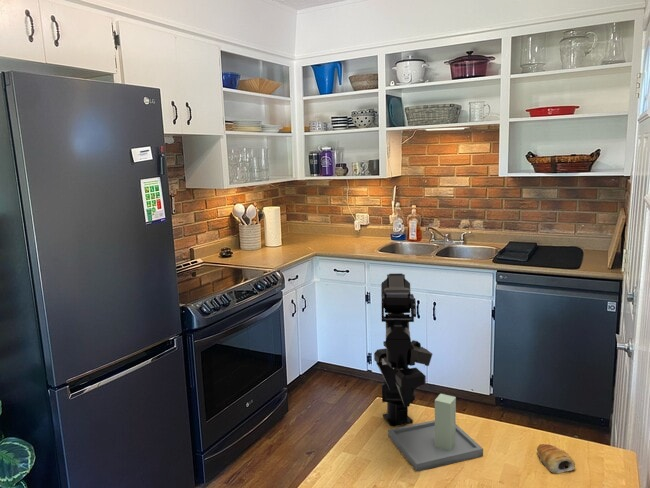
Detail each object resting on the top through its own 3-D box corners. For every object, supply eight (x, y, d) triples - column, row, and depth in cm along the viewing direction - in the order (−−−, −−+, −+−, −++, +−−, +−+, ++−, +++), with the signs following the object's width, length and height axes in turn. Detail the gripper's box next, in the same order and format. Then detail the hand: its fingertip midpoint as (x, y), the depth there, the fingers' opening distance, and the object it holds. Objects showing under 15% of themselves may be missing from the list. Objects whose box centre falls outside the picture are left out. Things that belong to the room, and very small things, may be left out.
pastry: (529, 452, 124) (529, 438, 123) (554, 449, 125) (554, 435, 124) (552, 476, 115) (553, 460, 114) (578, 472, 116) (579, 457, 115)
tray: (388, 436, 132) (388, 429, 132) (448, 423, 138) (448, 417, 137) (416, 471, 117) (416, 464, 117) (483, 456, 123) (483, 448, 122)
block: (434, 446, 125) (434, 400, 123) (440, 438, 129) (440, 393, 127) (450, 451, 123) (450, 403, 121) (455, 443, 127) (455, 397, 125)
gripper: (445, 347, 117) (446, 410, 119) (411, 324, 134) (412, 378, 137) (401, 354, 114) (403, 418, 116) (372, 329, 132) (374, 385, 134)
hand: (399, 398), depth 126 cm, fingers open, 9 cm apart
